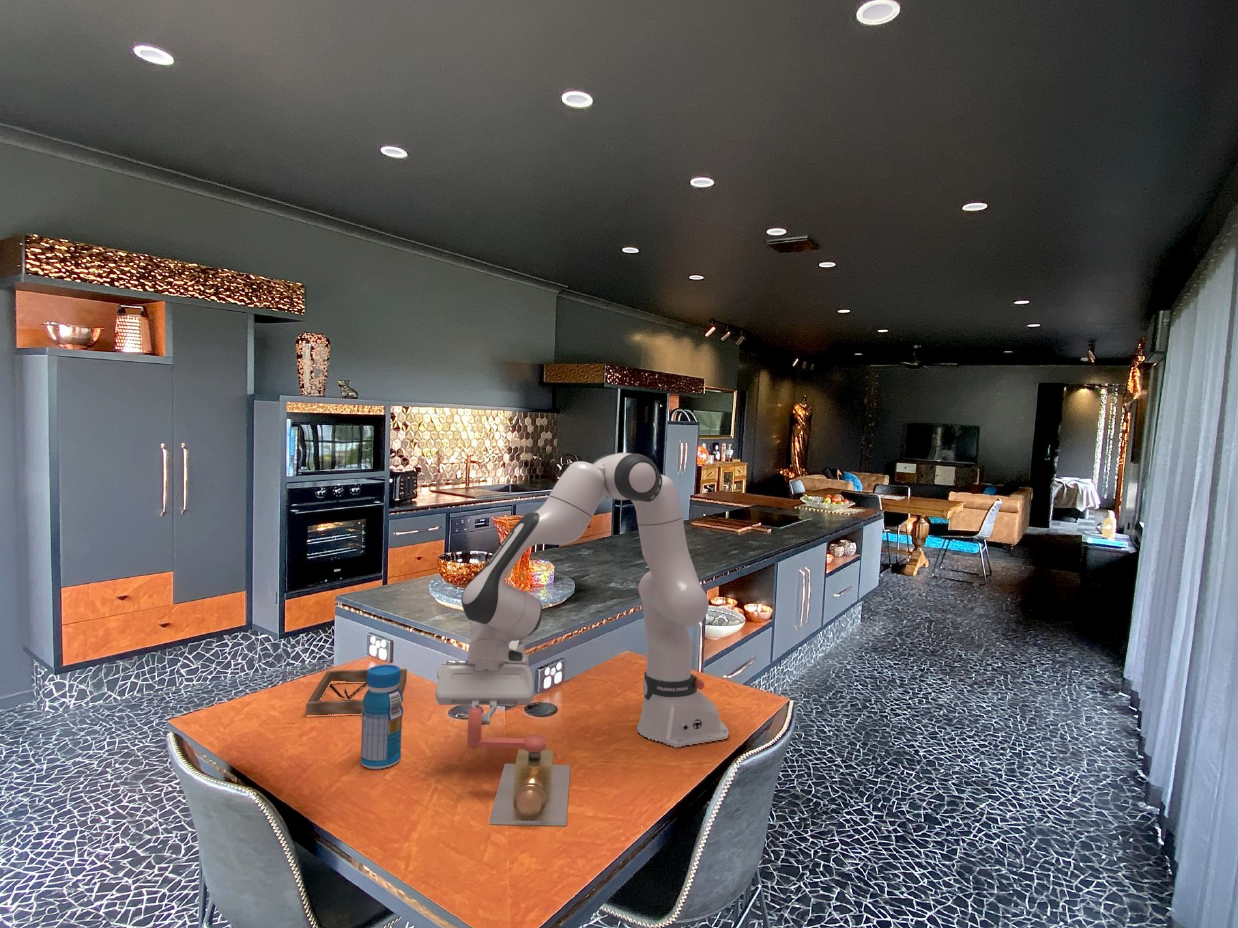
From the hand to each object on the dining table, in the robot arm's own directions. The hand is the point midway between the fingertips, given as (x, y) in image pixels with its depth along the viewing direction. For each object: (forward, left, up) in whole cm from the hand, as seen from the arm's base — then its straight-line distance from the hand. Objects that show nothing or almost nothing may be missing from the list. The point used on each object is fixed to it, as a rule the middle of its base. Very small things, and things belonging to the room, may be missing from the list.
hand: (482, 723), depth 138 cm
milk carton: (-7, -44, -12) cm, 46 cm away
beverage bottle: (+21, -12, -12) cm, 27 cm away
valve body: (-10, +6, -12) cm, 17 cm away
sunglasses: (+31, -51, -13) cm, 61 cm away
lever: (-5, +5, -3) cm, 7 cm away
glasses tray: (+31, -50, -12) cm, 60 cm away
